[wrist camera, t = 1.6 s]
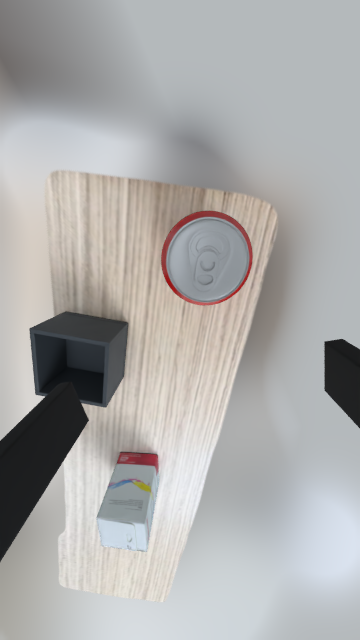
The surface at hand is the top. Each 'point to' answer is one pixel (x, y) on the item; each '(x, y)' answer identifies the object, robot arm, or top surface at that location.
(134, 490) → the ink box
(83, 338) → the open top storage bin
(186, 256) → the soda can
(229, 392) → the top surface
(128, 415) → the top surface
